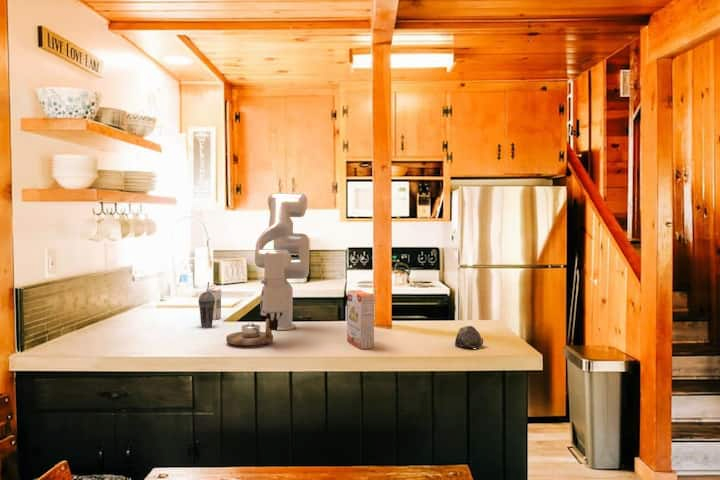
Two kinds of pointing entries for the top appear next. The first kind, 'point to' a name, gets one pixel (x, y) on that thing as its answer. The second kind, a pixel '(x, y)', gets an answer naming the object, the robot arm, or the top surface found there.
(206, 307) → the beverage cup
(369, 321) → the cracker box
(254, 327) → the cover
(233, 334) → the turntable
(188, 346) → the top surface
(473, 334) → the dark rock
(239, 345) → the turntable base
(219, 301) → the syrup box
